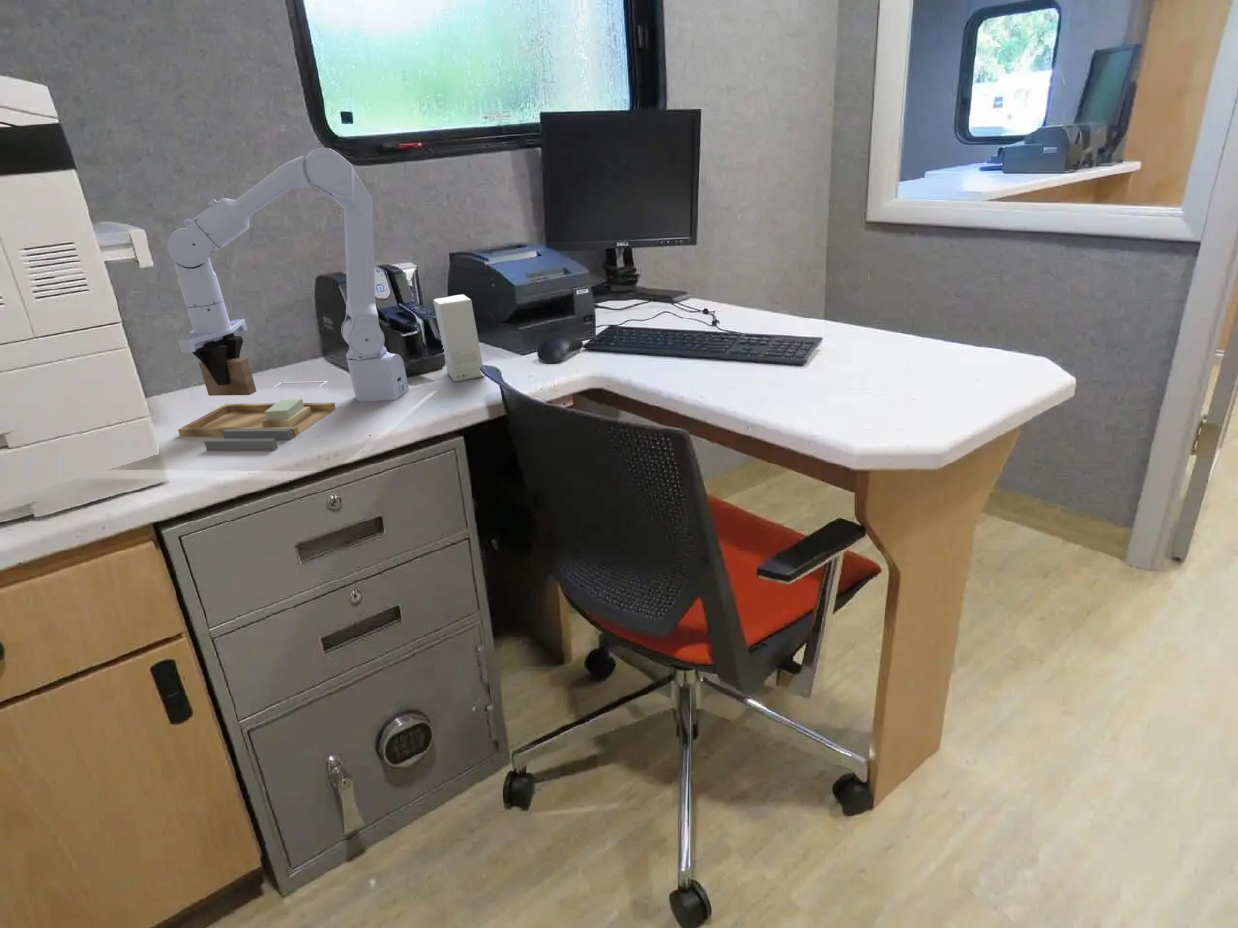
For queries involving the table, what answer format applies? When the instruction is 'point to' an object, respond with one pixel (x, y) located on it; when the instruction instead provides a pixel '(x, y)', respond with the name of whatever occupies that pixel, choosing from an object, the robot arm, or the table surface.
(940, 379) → the table surface
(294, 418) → the offcut
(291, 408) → the offcut
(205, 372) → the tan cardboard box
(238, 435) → the holder
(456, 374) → the skincare box
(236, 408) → the tray
